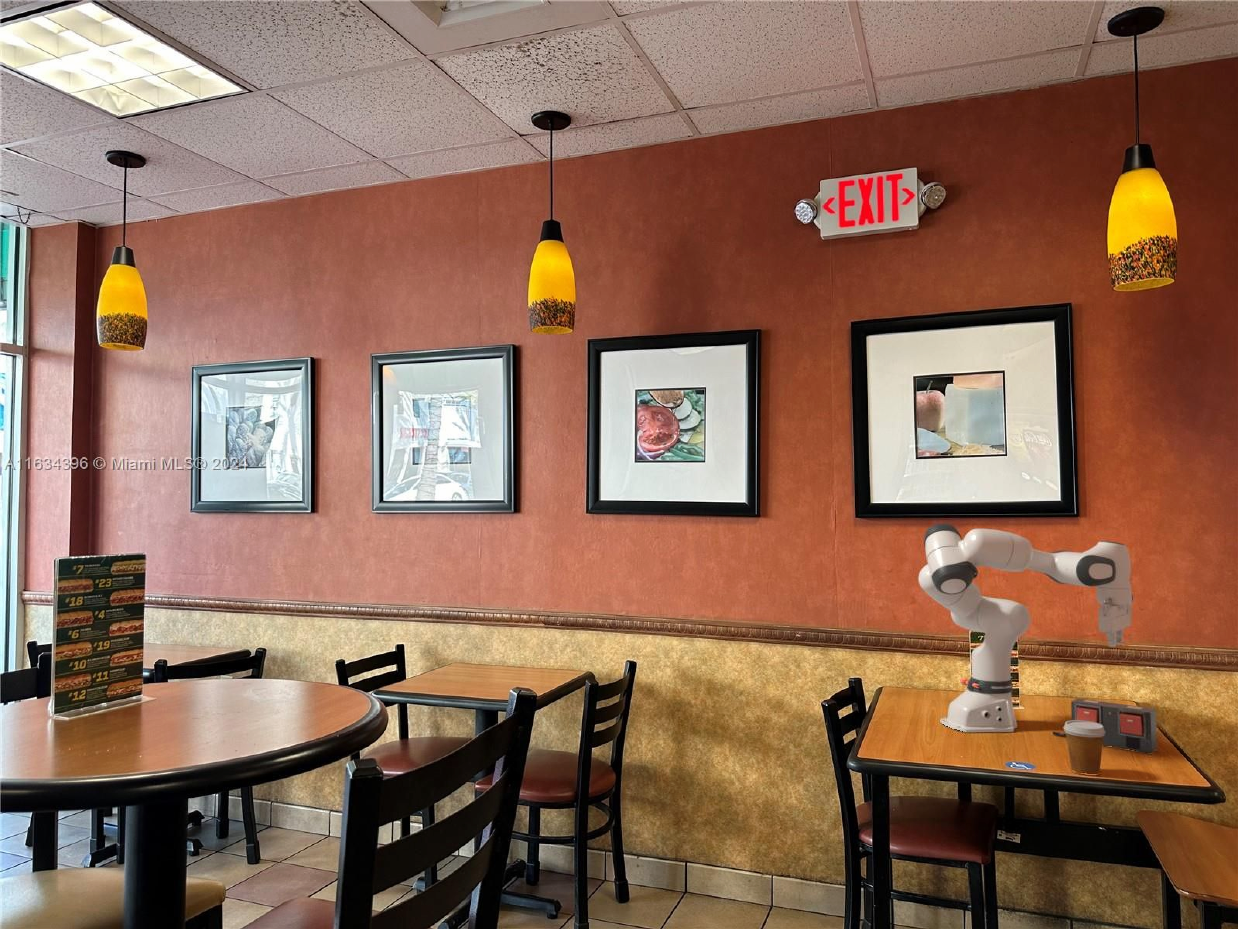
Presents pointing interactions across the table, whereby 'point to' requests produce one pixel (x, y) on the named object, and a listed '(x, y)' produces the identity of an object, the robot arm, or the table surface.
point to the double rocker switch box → (1111, 724)
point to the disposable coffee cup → (1084, 745)
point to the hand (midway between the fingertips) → (1115, 645)
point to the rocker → (1087, 714)
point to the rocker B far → (1131, 724)
